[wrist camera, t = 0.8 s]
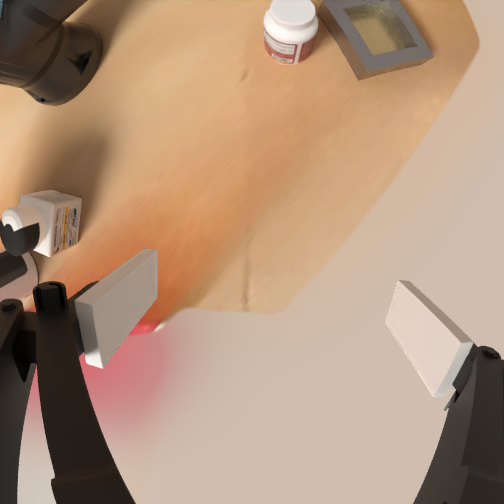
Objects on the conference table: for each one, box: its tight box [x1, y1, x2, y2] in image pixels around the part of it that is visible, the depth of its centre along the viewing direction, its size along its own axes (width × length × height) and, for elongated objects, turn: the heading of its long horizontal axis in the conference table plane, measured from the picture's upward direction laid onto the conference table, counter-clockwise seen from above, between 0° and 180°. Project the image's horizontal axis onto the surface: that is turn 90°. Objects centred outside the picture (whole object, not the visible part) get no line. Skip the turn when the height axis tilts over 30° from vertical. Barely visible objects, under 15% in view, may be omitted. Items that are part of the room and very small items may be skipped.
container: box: [0, 190, 82, 257], centre depth 33 cm, size 8×8×13 cm
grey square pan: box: [318, 0, 434, 80], centre depth 27 cm, size 23×12×4 cm, turn 25°
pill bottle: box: [264, 0, 318, 65], centre depth 26 cm, size 6×6×11 cm
